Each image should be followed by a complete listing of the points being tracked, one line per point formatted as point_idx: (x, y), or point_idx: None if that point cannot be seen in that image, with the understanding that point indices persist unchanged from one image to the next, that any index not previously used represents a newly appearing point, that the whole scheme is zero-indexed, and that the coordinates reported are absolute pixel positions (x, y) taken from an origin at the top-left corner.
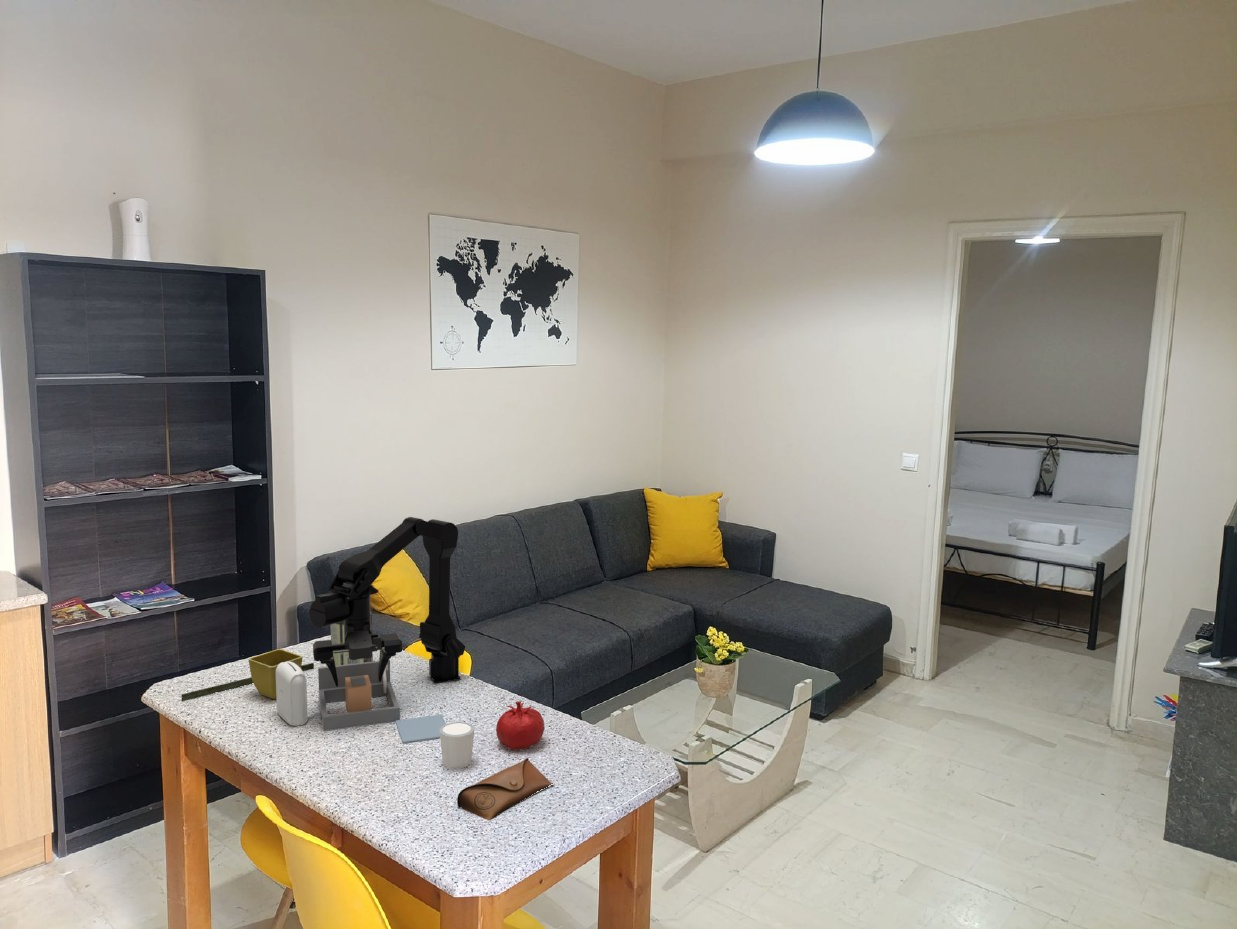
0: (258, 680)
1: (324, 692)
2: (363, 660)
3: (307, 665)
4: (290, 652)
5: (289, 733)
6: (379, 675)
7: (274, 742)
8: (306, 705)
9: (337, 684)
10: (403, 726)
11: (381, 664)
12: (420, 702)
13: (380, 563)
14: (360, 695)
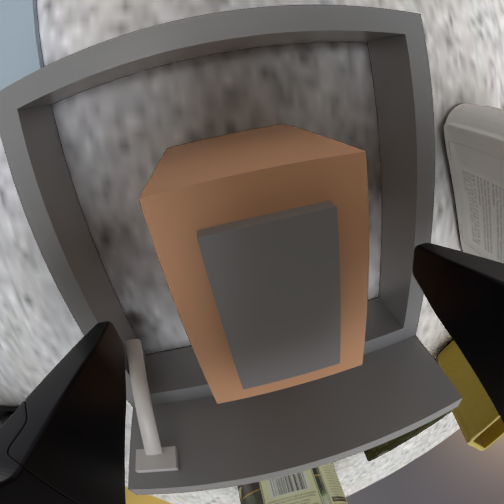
0: None
1: (397, 324)
2: (260, 487)
3: (381, 452)
4: (478, 447)
5: (475, 56)
6: (89, 352)
7: (494, 13)
8: (496, 136)
9: (430, 247)
10: (10, 16)
11: (31, 438)
12: (3, 286)
13: None
14: (238, 155)
